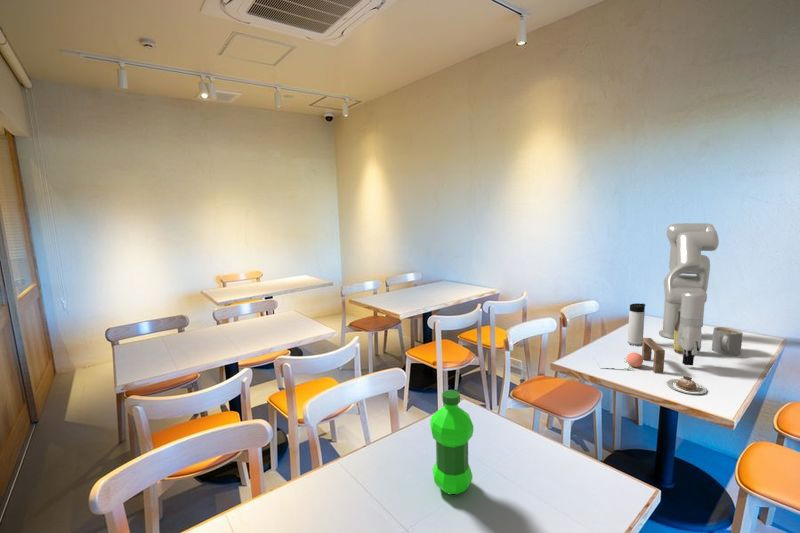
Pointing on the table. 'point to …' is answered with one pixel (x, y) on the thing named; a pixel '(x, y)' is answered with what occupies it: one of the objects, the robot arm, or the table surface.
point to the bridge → (658, 354)
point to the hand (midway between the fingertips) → (687, 364)
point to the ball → (634, 359)
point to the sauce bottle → (676, 347)
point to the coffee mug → (727, 341)
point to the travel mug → (636, 324)
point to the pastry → (686, 385)
